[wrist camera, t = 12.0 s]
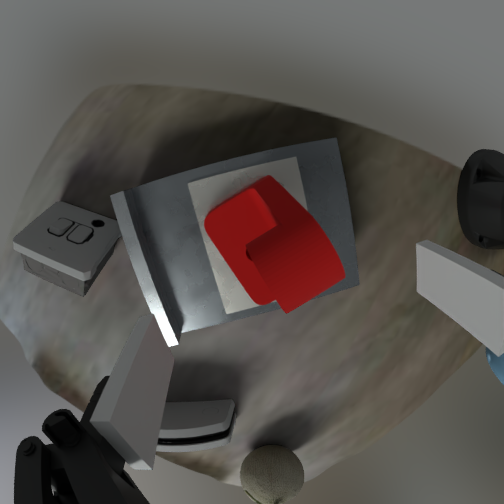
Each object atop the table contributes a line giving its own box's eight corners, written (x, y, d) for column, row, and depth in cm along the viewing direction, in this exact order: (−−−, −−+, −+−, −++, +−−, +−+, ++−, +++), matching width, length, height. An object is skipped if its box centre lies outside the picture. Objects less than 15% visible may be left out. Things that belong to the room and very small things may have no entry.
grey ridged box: (315, 142, 28) (345, 135, 20) (337, 264, 32) (368, 293, 25) (138, 187, 28) (109, 195, 20) (177, 306, 32) (166, 346, 24)
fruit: (260, 426, 39) (274, 504, 25) (308, 443, 42) (328, 509, 28) (221, 453, 41) (225, 523, 27) (269, 468, 44) (280, 529, 30)
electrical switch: (128, 222, 29) (90, 256, 20) (119, 264, 30) (85, 307, 22) (60, 199, 27) (10, 222, 18) (55, 239, 29) (10, 272, 20)
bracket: (200, 215, 23) (185, 250, 13) (266, 174, 23) (298, 180, 13) (255, 298, 26) (274, 370, 16) (316, 261, 25) (366, 316, 16)
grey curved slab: (135, 422, 37) (115, 454, 27) (128, 397, 37) (104, 426, 27) (237, 419, 38) (239, 456, 28) (233, 394, 39) (234, 428, 29)
